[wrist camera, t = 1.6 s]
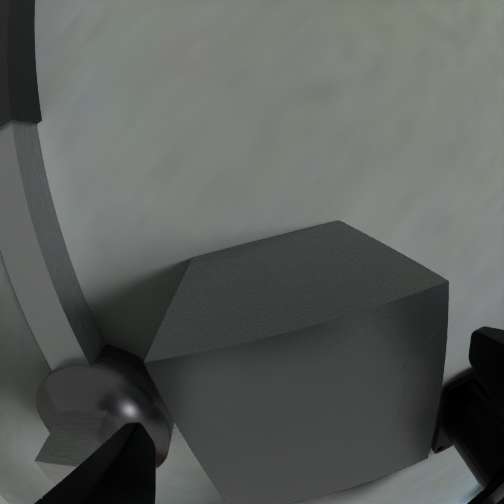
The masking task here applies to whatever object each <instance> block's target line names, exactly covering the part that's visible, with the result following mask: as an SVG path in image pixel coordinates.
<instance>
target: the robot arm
mask: <svg viewBox="0 0 504 504" xmlns="http://www.w3.org/2000/svg"><path fill="white" fill-rule="evenodd" d="M469 361H470V364H471V365H472V367H473V369H474V370H475V372H474V373H472V374H470V375H468V376H466V377H464V378H462V379H461V380H459V381H457V382H455V383H453V384H451V385H449V386H448V387H447V388H446V389H445V390H444V392H443V395H442V401H441V407H440V412H439V418H438V423H437V428H436V432H435V437H434V441H433V445H432V450H433V452H434V453H435V454H436V453H439V452H441V451H443V450H445V449H447V448H449V447H451V446H453V445H454V447H455V448H456V450H457V451H458V453H459V454H460V456H461V457H462V459H463V460H464V462H465V463H466V465H467V466H468V468H469V469H470V471H471V472H472V474H473V475H474V477H475V478H476V480H477V481H478V483H479V484H480V486H481V487H482V489H483V491H481V492H480V493H479V494H478V495H477V496H476V497H474V498H473V499H472V500H471V501H470V502H468V503H467V504H504V330H501V329H496V328H491V327H486V326H484V327H481V328H479V329H477V330H475V331H474V332H473V333H472V335H471V341H470V349H469ZM155 493H156V447H155V443H154V441H153V440H152V438H151V437H150V435H149V434H148V432H147V431H146V429H145V427H144V426H143V425H142V424H141V423H139V422H132V423H126V424H124V425H123V426H122V427H121V428H120V429H119V430H118V431H117V432H116V433H114V434H113V435H112V436H111V437H110V438H109V439H108V440H107V441H106V442H105V443H103V444H102V445H101V446H100V447H99V448H98V449H97V450H96V451H95V452H93V453H92V454H91V455H90V456H89V457H88V458H87V459H86V460H84V461H83V462H82V463H81V464H80V465H79V466H78V467H77V468H75V469H74V470H73V471H72V472H71V473H70V474H69V475H67V476H66V477H65V478H64V479H63V480H62V481H60V482H59V483H58V484H57V485H56V486H55V487H54V488H52V489H51V490H50V491H49V492H48V493H46V494H45V495H44V496H43V497H42V499H39V500H38V501H37V502H36V503H35V504H155Z"/></svg>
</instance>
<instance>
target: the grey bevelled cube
mask: <svg viewBox="0 0 504 504" xmlns="http://www.w3.org/2000/svg"><path fill="white" fill-rule="evenodd" d="M448 302H449V281H448V280H446V279H445V278H443V277H441V276H440V275H438V274H436V273H435V272H433V271H431V270H429V269H428V268H426V267H424V266H423V265H421V264H419V263H417V262H416V261H414V260H412V259H410V258H408V257H407V256H405V255H403V254H401V253H400V252H398V251H396V250H394V249H392V248H391V247H389V246H387V245H385V244H383V243H381V242H380V241H378V240H376V239H374V238H372V237H370V236H368V235H367V234H365V233H363V232H361V231H359V230H357V229H355V228H353V227H351V226H349V225H347V224H346V223H344V222H342V221H340V220H339V221H335V222H331V223H327V224H323V225H319V226H315V227H311V228H307V229H303V230H299V231H295V232H291V233H287V234H283V235H279V236H275V237H271V238H267V239H263V240H259V241H255V242H251V243H247V244H243V245H240V246H236V247H232V248H228V249H224V250H220V251H216V252H212V253H208V254H205V255H201V256H197V257H193V258H192V260H191V262H190V264H189V266H188V268H187V270H186V272H185V274H184V276H183V279H182V281H181V283H180V285H179V287H178V289H177V291H176V293H175V295H174V297H173V299H172V302H171V304H170V306H169V308H168V310H167V312H166V314H165V316H164V319H163V321H162V323H161V325H160V327H159V330H158V332H157V334H156V336H155V338H154V341H153V343H152V345H151V347H150V349H149V352H148V354H147V356H146V358H145V361H144V364H145V366H146V368H147V370H148V372H149V374H150V376H151V378H152V380H153V382H154V384H155V386H156V388H157V390H158V392H159V394H160V396H161V398H162V400H163V401H164V403H165V405H166V407H167V409H168V411H169V412H170V414H171V416H172V418H173V420H174V421H175V423H176V425H177V427H178V428H179V430H180V432H181V434H182V435H183V437H184V439H185V440H186V442H187V444H188V445H189V447H190V448H191V450H192V452H193V453H194V455H195V456H196V458H197V460H198V461H199V463H200V464H201V466H202V467H203V469H204V470H205V472H206V473H207V475H208V476H209V478H210V479H211V481H212V482H213V484H214V485H215V487H216V488H217V490H218V491H219V492H220V494H221V495H222V497H223V498H224V499H225V501H226V502H227V503H228V504H289V503H294V502H298V501H303V500H307V499H312V498H316V497H320V496H324V495H328V494H331V493H335V492H338V491H342V490H345V489H349V488H352V487H355V486H358V485H361V484H364V483H367V482H370V481H373V480H376V479H378V478H381V477H384V476H386V475H389V474H392V473H394V472H397V471H399V470H401V469H404V468H406V467H409V466H411V465H413V464H415V463H418V462H420V461H422V460H424V459H426V458H428V455H429V451H430V446H431V442H432V438H433V433H434V428H435V423H436V418H437V413H438V407H439V401H440V395H441V388H442V381H443V373H444V364H445V355H446V343H447V328H448Z"/></svg>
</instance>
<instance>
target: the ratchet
mask: <svg viewBox="0 0 504 504" xmlns="http://www.w3.org/2000/svg"><path fill="white" fill-rule="evenodd" d="M34 17H35V0H0V251H1V254H2V258H3V261H4V264H5V266H6V269H7V272H8V275H9V278H10V280H11V283H12V286H13V288H14V291H15V293H16V296H17V298H18V301H19V303H20V306H21V308H22V310H23V313H24V315H25V317H26V320H27V322H28V324H29V326H30V328H31V330H32V333H33V335H34V337H35V339H36V341H37V343H38V345H39V347H40V349H41V351H42V353H43V355H44V356H45V358H46V360H47V362H48V364H49V366H50V368H51V369H52V371H51V372H50V373H49V374H48V376H47V377H46V378H45V379H44V381H43V382H42V383H41V385H40V386H39V388H38V391H37V395H36V403H37V408H38V412H39V414H40V417H41V419H42V421H43V423H44V424H45V426H46V427H47V429H48V430H49V432H50V434H49V436H48V438H47V439H46V441H45V443H44V445H43V446H42V448H41V450H40V452H39V453H38V455H37V457H36V459H35V462H36V464H37V465H38V466H39V467H40V468H41V469H42V470H43V471H44V472H45V473H46V475H47V476H48V477H49V478H50V479H51V480H52V481H53V482H54V483H55V484H56V485H57V484H58V483H59V482H60V481H62V480H63V479H64V478H65V477H66V476H67V475H69V474H70V473H71V472H72V471H73V470H74V469H75V468H77V467H78V466H79V465H80V464H81V463H82V462H83V461H84V460H86V459H87V458H88V457H89V456H90V455H91V454H92V453H93V452H95V451H96V450H97V449H98V448H99V447H100V446H101V445H102V444H103V443H105V442H106V441H107V440H108V439H109V438H110V437H111V436H112V435H113V434H114V433H116V432H117V431H118V430H119V429H120V428H121V427H122V426H123V425H124V424H126V423H132V422H139V423H141V424H142V425H143V426H144V427H145V429H146V431H147V432H148V434H149V435H150V437H151V438H152V440H153V441H154V443H155V447H156V468H157V467H159V466H160V465H161V464H162V463H163V462H164V461H165V459H166V458H167V454H168V450H169V446H170V441H171V436H172V431H173V426H174V422H175V421H174V420H173V418H172V416H171V414H170V412H169V411H168V409H167V407H166V405H165V403H164V401H163V400H162V398H161V396H160V394H159V392H158V390H157V388H156V386H155V384H154V382H153V380H152V378H151V376H150V374H149V372H148V370H147V368H146V366H145V364H144V361H143V360H141V359H140V358H138V357H136V356H135V355H133V354H131V353H129V352H127V351H125V350H122V349H119V348H117V347H113V346H109V345H105V343H104V341H103V339H102V336H101V334H100V332H99V330H98V328H97V325H96V323H95V321H94V319H93V316H92V314H91V312H90V309H89V307H88V304H87V302H86V300H85V297H84V295H83V292H82V289H81V287H80V284H79V282H78V279H77V276H76V274H75V271H74V268H73V265H72V262H71V260H70V257H69V254H68V251H67V248H66V245H65V242H64V238H63V235H62V232H61V229H60V225H59V222H58V218H57V215H56V211H55V208H54V204H53V200H52V196H51V192H50V188H49V184H48V180H47V176H46V171H45V166H44V162H43V157H42V152H41V146H40V141H39V135H38V129H37V123H39V122H40V121H42V118H41V111H40V103H39V95H38V85H37V74H36V60H35V32H34Z"/></svg>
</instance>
